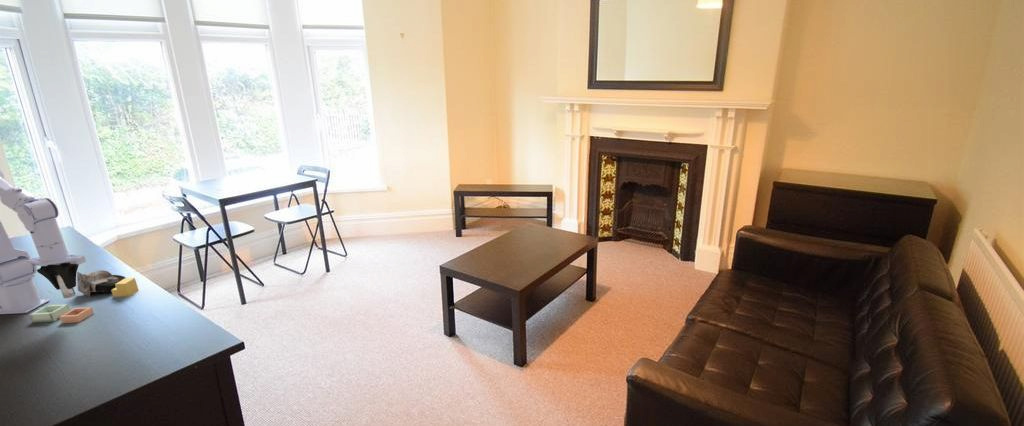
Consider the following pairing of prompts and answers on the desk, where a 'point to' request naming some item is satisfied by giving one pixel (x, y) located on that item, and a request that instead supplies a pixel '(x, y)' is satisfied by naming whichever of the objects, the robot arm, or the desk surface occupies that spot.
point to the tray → (49, 313)
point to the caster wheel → (97, 282)
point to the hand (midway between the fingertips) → (66, 287)
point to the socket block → (76, 315)
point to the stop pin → (64, 288)
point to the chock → (125, 287)
